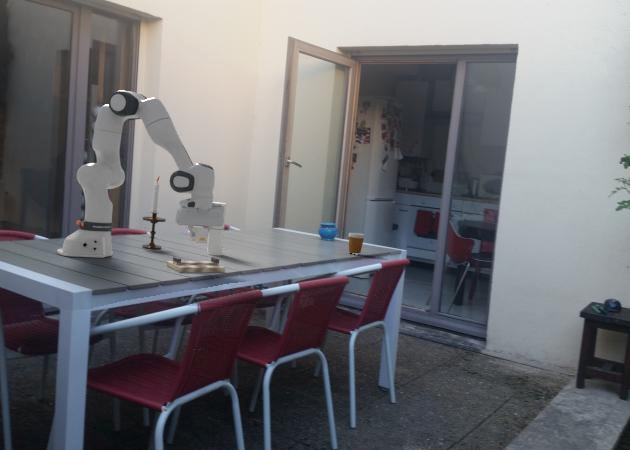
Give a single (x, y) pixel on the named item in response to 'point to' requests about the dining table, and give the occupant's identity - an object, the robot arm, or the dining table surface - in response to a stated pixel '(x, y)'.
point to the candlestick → (154, 220)
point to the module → (199, 234)
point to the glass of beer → (355, 242)
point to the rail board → (196, 265)
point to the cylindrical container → (216, 236)
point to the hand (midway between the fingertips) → (198, 236)
